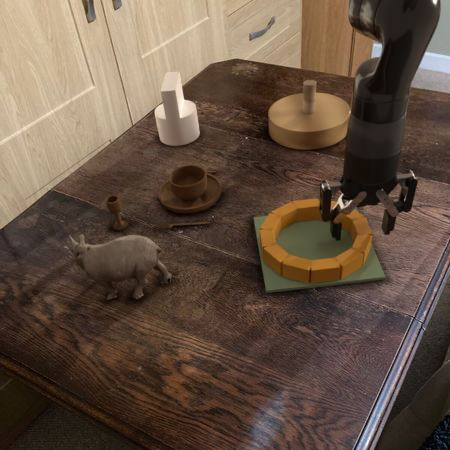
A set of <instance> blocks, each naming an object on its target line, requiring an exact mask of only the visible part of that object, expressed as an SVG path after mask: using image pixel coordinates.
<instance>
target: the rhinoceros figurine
mask: <svg viewBox="0 0 450 450" xmlns="http://www.w3.org/2000/svg"><path fill="white" fill-rule="evenodd" d="M68 238H69V239H70V241H71V248H69V247H68V246H65V245H64V246H62V249H64V250H70V252H71V253H72V254H73V255H74V257H75V259H74V263H76V265H77V266H78V267H79V268H80V269H81V270H82V271H84V272H85V274H86V276H87V277H88V278H89V279H90V280H93V281H95V282H96V284H97V285H99V287H102V288H104V289H105V290H106V291H107V292H108V295H107V297H106V301H110V300H112V299H116V298H117V297H118V295H117V294H118V290H117V289H116V287H114V285H113V283H123V282H124V281H127V280H131V279H133V280H135V281H136V285H135V288H134V292H133V295H132V296H131V298H132V297H133V298H134V299H136V300H138V299H140V298H141V297H143V296H145V295H144V293H143V289H144V288H146V286H148V285H149V280H147V275H148V274H149V273H151V271H152V270H155V271H157V272H159V273H160V274H161V278H160V283H161V284H169V283H170V282H171V281H172V277H173V276H172V274H171V273H170V272H169V271H168V269H167V267H166V266H165V265H164V263H162V262H161V260H160V259H159V254H161V253H163V248H161V247H160V246H159V245H158V244H157V243H156V242H154V241H153V240H152V239H150V238H149V237H147V236H143V235H139V234H128V235H124V236H123V235H122V236H119V237H117V238H114V239H112V240H110V241H107V242H105V243H102V244H101V243H99V244H89V243H86V242H85V235H84V234H83V233H82V234H80V235H78V237H77V239H78V242H77V241H76V240H75V239H74V238H73V236H71V235H70V234H69V235H68ZM169 279H170V280H169ZM168 280H169V281H168Z"/></svg>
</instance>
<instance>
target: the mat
mask: <svg viewBox="0 0 450 450" xmlns="http://www.w3.org/2000/svg"><path fill="white" fill-rule="evenodd" d="M354 210H356V211H357V212H359V210H358V207H357V206H356V207H355V209H354ZM267 216H268V215H261V216H254V217H253V224H254V231H255V236H256V241H257V248H258V253H259V259H260V266H261V271H262V276H263V281H264V288H265V293H266V294H271V293H281V292H289V291H298V290H305V289H307V290H308V289H317V288H323V287H332V286H341V285H349V284H350V285H351V284H358V283H368V282H376V281H384V280H386V275H385V272H384V270H383V267H382V265H381V263H380V261H379V258H378V256H377V253H376V251H375V249H374V245H373V244H372V242H371V247H370V251H369V253H368V255H367V258H366V260H365V262H364V265H363V266H362V267H361V268H360V269H358V270H356V271H355V272H353V273H351V274H350V275H348V276H346V277H345V278H343V279H340V278H339V280H338V281H329V282H321V283H312V284H311V281H309V283H305V282H301V281H297V280H293V279H290V278H286V277H283V274H282V275H279V274H278V273H277V272H276V271H275V270H274V269H272V268H271V267H270V266H269V265H268V264H267V263H265V262H264V260H263V256H262V251H261V245H260V233H259V230H260V227H261V226H262V224H263V222H264V221H265V219H266V218H267ZM275 241H276V244H277V245H278V246H280V247H281V248H282V249H283V250H284V251H286V252H287V253H288V254H289V255H292V256H296V257H300V258H304V259H308V260H319V259H328V258H335V257H336V256H338V255H340V254H342V253H343V252H345V251H347V250H349V249H350V248H352V246H353V243H354V240H353V238H352V235H351V233H349V232H348V231H347V230H345V229H344V228H342V231H341V240H339V241H336V240H335V238H333V237H332V235H331V232H330V222H328V221H327V222H324V221H323V220H318V219H315V220H307V221H299V222H295V223H293V224H291V225H290V226H288V227H286V228H284V229H282V230H281V231H280V233H279V234H278V236H277V238H276V239H275Z"/></svg>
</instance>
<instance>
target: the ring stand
mask: <svg viewBox="0 0 450 450" xmlns="http://www.w3.org/2000/svg"><path fill="white" fill-rule="evenodd" d="M350 112H351V106H350V105H349V104H348V103H347V101H346V100H344V99H342V98H341V97H338V96H337V95H333V94H330V93H324V92H317V81H316V80H315V79H306V80H304V81H303V82H302V92H300V93H295V94H291V95H287V96H285V97H282V98H280V99H278V100H277V101H275V102H273V104H271V106H270V108H269V109H268V113H267V114H268V115H267V117H268V119H267V120H268V134H269V136H270V138H271V139H272V140H273V141H274V142H276V144H278V145H280V146H283V147H285V148H290V149H294V150H304V151H305V150H318V149H324V148H327V147H331V146H333V145H336V144H337V143H339V142H341V141H343V139H345V136H346V133H347V125H348V121H349V117H350Z"/></svg>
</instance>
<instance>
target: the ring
mask: <svg viewBox="0 0 450 450" xmlns="http://www.w3.org/2000/svg"><path fill="white" fill-rule="evenodd" d="M319 201H320V198H319V199H318V198H308V199H300V200H293V201H289V202H287V203H285V204H283V205H282V206H279V207H278V208H275V209H274V210H272V211H271V212H270V213H269V214H268V215H266V216H267V218H266V219H265V221H264V222H263V224H262V226H261V227H260V230H259V233H260V245H261V251H262V256H263V260H264V262H265V263H267V264H268V265H269V266H270V267H271V268H272V269H274V270H275V271H276V272H277V273H278V274H279V275H282V274H283V277H286V278H290V279H293V280H297V281H301V282H305V283H309V281H311V284H312V283H321V282H329V281H338V280H339V278H340V279H343V278H345V277H346V276H348V275H350V274H351V273H353V272H355V271H356V270H358V269H360V268H361V267H362V266H363V265H364V262H365V260H366V258H367V255H368V253H369V251H370V247H371V243H372V240H373V232H372V229H371V226H370V225H369V222H368V220H367V217H365V216H364V214H362V213H361V212H359V211H358V212H357V211H356V210H353V211H352V212H351V213H350V214H347V215H346V216H345V218H344V219H343V220H342V228H344V229H345V230H347V231H348V232H349V233H351V235H352V238H353V240H354V243H353V246H352V248H350V249H349V250H347V251H345V252H343V253H342V254H340V255H338V256H336V257H335V258H328V259H319V260H308V259H304V258H300V257H296V256H292V255H289V254H288V253H287V252H286V251H284V250H283V249H282V248H281V247H280V246H278V245H277V244H276V241H275V239H276V238H277V236H278V234H279V233H280V231H281V230H282V229H284V228H286V227H288V226H290V225H291V224H293V223H295V222H299V221H307V220H315V219H318V220H322V217H321V214H320V211H319ZM337 202H338V201H335V200H331V209H332V208H333V207H334V206H335V205H336V203H337ZM328 222H330V221H328Z"/></svg>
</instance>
